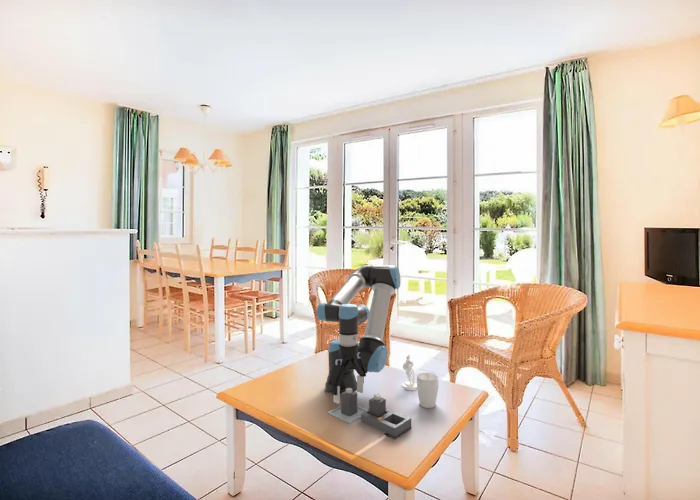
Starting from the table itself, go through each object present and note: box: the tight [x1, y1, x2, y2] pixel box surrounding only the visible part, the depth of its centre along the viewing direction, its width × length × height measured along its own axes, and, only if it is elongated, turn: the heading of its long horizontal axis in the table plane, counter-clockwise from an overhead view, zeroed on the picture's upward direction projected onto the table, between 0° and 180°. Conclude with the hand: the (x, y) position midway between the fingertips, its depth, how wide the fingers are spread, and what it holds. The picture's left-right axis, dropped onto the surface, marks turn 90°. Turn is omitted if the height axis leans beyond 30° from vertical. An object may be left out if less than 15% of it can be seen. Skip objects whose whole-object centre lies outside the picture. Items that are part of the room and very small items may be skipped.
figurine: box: [400, 354, 418, 391], centre depth 177 cm, size 9×9×15 cm
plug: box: [340, 388, 358, 417], centre depth 149 cm, size 4×4×10 cm
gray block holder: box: [360, 393, 412, 440], centre depth 140 cm, size 16×10×10 cm, turn 47°
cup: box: [416, 372, 439, 409], centre depth 158 cm, size 9×9×12 cm
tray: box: [327, 405, 368, 424], centre depth 149 cm, size 12×12×2 cm
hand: (348, 397), depth 149 cm, fingers open, 13 cm apart
